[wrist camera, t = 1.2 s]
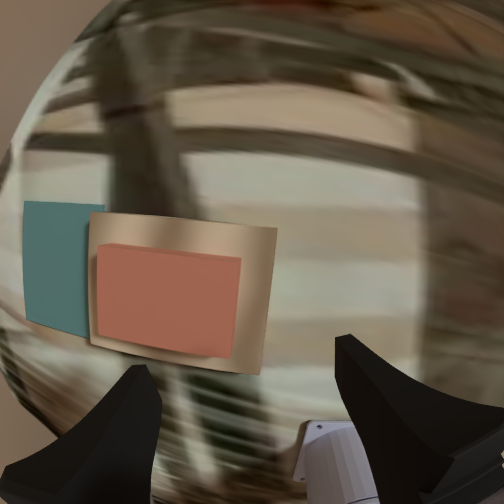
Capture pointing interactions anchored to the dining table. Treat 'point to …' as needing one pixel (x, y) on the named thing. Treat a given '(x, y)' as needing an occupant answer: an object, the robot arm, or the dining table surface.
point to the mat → (57, 264)
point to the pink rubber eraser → (168, 298)
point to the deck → (199, 241)
